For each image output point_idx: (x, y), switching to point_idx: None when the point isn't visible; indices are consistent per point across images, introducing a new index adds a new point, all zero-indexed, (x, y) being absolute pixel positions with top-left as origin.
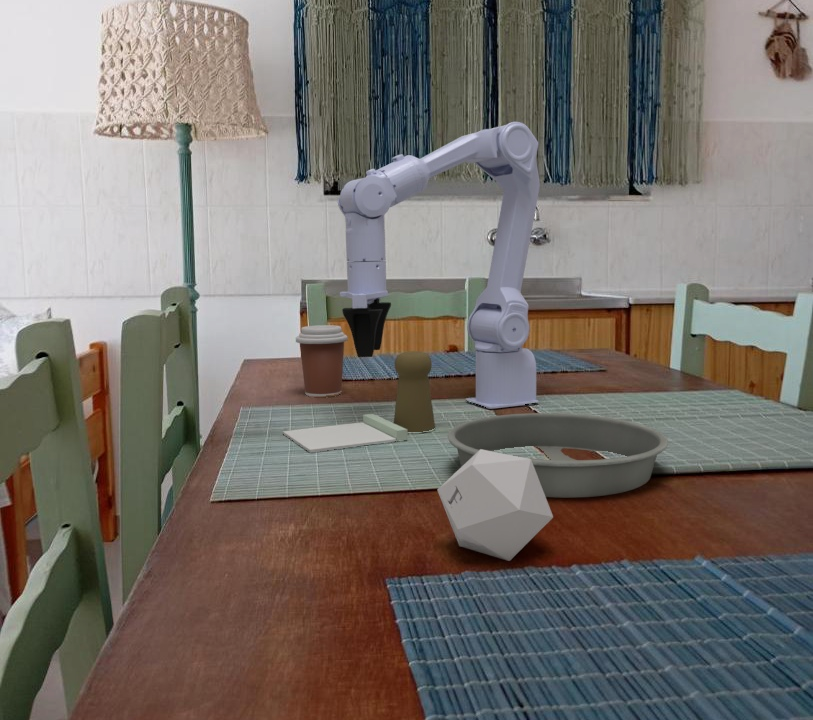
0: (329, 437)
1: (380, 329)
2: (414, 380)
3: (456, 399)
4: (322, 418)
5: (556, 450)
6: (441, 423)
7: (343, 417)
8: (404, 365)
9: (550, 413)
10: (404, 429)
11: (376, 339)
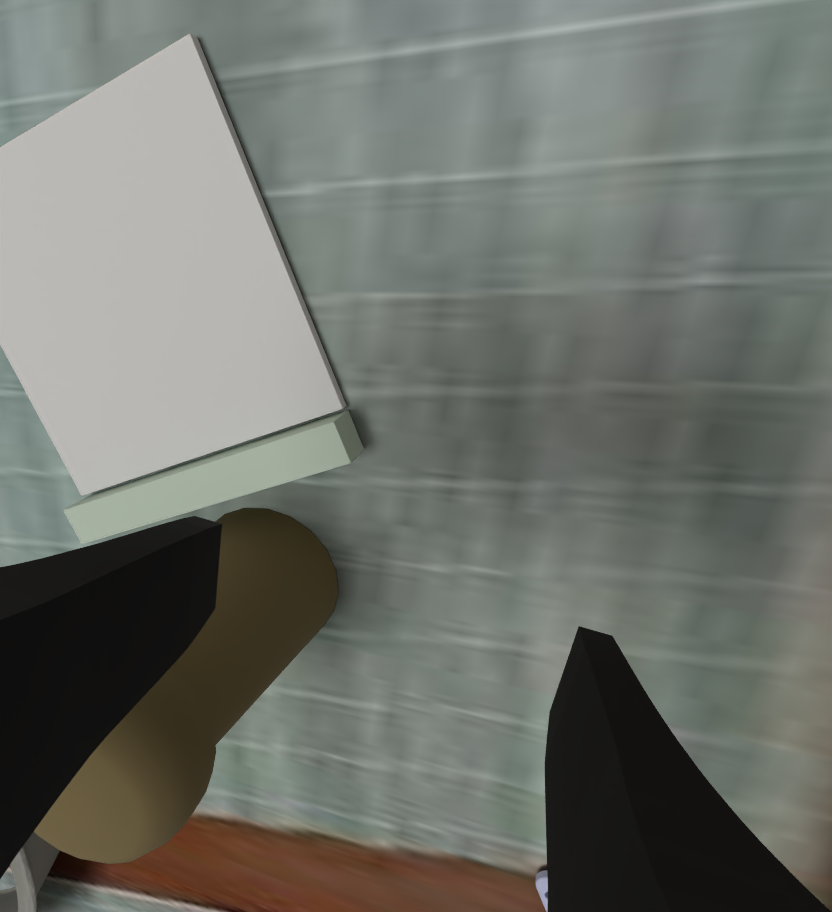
0: (89, 266)
1: (554, 880)
2: None
3: (814, 847)
4: (524, 222)
5: None
6: (345, 675)
7: (526, 331)
8: None
9: (21, 904)
10: (82, 535)
11: (554, 763)
